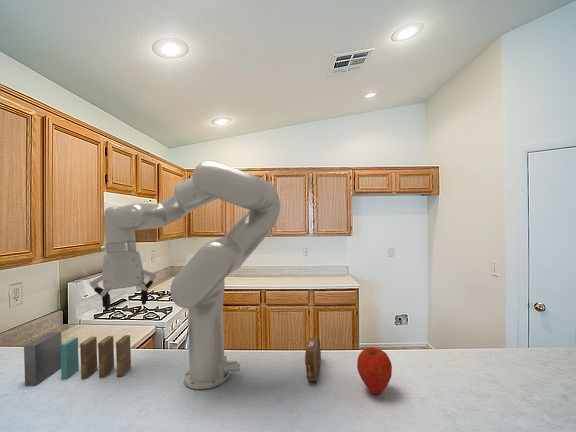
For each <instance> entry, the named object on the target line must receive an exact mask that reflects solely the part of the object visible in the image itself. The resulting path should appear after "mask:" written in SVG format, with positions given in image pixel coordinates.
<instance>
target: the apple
mask: <svg viewBox="0 0 576 432" xmlns="http://www.w3.org/2000/svg"><path fill="white" fill-rule="evenodd" d="M356 363H357V364H356V369H357V372H358V374H359V376H360V379H361V381H362V382H363V384H364V385H365V387H366V388H367V389H368V390H369V391H370V393H372V394H373V395H381V393H383V391H384V390H385V389H386V388H387V387H388V385H389V383H390V381H391V378H392V375H393V372H392V371H393V369H392V368H393V365H392V362H391V359H390V357H389V355H388V354H387V353H386V352H385V351H384V350H382V349H380V348H377V347H376V348H375V347H367V348H364V349H363V350H361V352H360V353H359V354H358V357H357V362H356Z"/></svg>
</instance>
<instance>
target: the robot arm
mask: <svg viewBox="0 0 576 432" xmlns="http://www.w3.org/2000/svg"><path fill="white" fill-rule="evenodd" d="M193 169H194V170H193V172H192V176H191V177H188V178H186V179H184V180H182V181H180V182H178V183H177V184H176V185H175V186H174V189H173V190H174V194H173V195H171V196H170V197H169V198H166V199H165V200H162V201H160V202H158V203H139V202H138V203H130V204H127V205H118V206H115V205H114V206H109V207H107V208H105V210H104V213H103V214H104V225H105V227H104V228H105V238H106V239H105V240H106V244H105V245H102V246H101V247H100V250H101V251H102V252H103V251H104V252H106V254H104V256H103V259H102V260H103V261H102V262H103V263H102V275H100V276H99V277H97V278H95V279H93V280H91V282H89V285H90V286H91V287H92V289H93V291H94V292H95V293H97V295H99V296H100V297H101V299H102V307H103V308H104V311H108V310H110V309H111V308H112V304H111V294H109V292H110V291H111V290H119V289H126V288H132V287H133V288H134V287H139V288H140V289H141V292H140V297H141V305H143V306H145V305H146V304H147V302H149V295H148V293H149V291H148V289H149V288H150V287H151V286H152V285H153V284H154V282H155V279H156V277H157V273H154V272H152V271H148V270H146V269H144V267H143V263H142V258H141V254H140V251H139V250H137V242H136V231H140V230H141V231H142V230H151V229H160V228H163V227H165V226H168V225H170V224H172V223H174V222H177V221H178V220H180V219H183V218H185V216H187V215H188V214H190V213H191V211H194V210H196V209H199V208H200V207H202V206H204V205H208V204H209V203H212V202H214V201H217V200H218V199H219V200H221V201H223V202H227V203H229V204H232V205H234V206H237V207H239V208H242V209H247V210H248V211H247V212H246V213H245V214H244V216H242V217H241V218H240V219H239V220H238V221H237V222H236V223H235V224H234V226H233V227H232V228H231V229H230V230H229V231H228V232H227V233H226V234H225V236H224V235H223V237H220V238H216V239H213V240H211V241H209V242H206V243H205V244H203V246H202V247H200V248H199V249H198V250H197V252H195V254H194V255H193V256H192V257H191V258H190V259H189V260H188V262H187V263H186V264H185V265H184V266H183V267H182V268H181V269H180V270H179V271H178V273H177V274H176V275H175V276H174V278H173V280H171V281H172V282H171V285H170V298H171V300H172V301H173V303H174V304H175V305H176V306H177V307H179V308H180V309H181V308H182V309H188V311H187V312H188V313H187V327H188V328H187V332H188V334H187V335H188V336H187V337H188V367H189V368H188V370H187V371H186V372H185V374H184V376H183V383H184V386H186V387H188V388H190V389H193V390H207V389H213V388H215V387H218V386H220V385H222V384H224V383H225V382H227V381H228V379H229V378H230V376H231V373H232V372H233V373H238V372H240V371H241V363H238V361H237V360H232V361H230V360H228V357H227V355H225V339H224V335H225V334H224V294H225V283H226V282H225V281H226V280H225V279H226V278H227V277H228V276H229V275H230V274H232V273H233V272H236V271H237V270H238V269H240V268H241V266H243V264H244V263H245V262H246V260H247V259H248V258H249V257H250V256H251V255H252V253H253V252H254V251H255V250H256V249H257V248H258V247H259V246H260V245H261V243H263V241H264V240H265V239H266V237H267V236H268V235H269V234H270V233H271V231H272V230H273V228H275V226H276V223H277V222H278V220H279V216H280V211H281V201H280V197H279V194H278V192H277V189H276V187H275V186H274V185H273V183H272V182H269V181H268V180H267V179H264V178H261V177H259V176H257V175H255V174H252V173H248V172H246V171H243V170H240V169H237V168H234V167H231V166H228V165H225V164H223V163H220V162H219V161H215V160H205V161H202V162H200V163H199V164H198V165H196V167H195V168H193ZM145 276H146V277H149V280H148V282H147V283H145ZM100 282H102V287H103V288H102V287H101V286H100V285H99V283H100Z"/></svg>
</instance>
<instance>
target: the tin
mask: <svg viewBox="0 0 576 432" xmlns="http://www.w3.org/2000/svg"><path fill="white" fill-rule="evenodd" d="M321 354H322V351H321V342H320V338H319V336H318V337H310V338H309V339H308V342H307V346H306V349H305V354H304V355H305V357H304V362H305V370H306V380H307V381H309V382H318V380H319V376H320V370H321V366H322V365H321V364H322V355H321Z"/></svg>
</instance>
